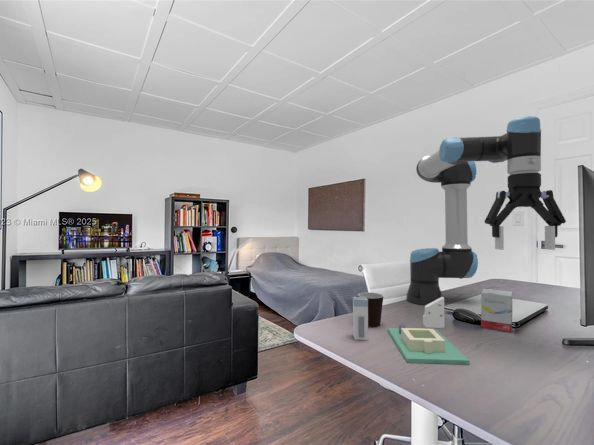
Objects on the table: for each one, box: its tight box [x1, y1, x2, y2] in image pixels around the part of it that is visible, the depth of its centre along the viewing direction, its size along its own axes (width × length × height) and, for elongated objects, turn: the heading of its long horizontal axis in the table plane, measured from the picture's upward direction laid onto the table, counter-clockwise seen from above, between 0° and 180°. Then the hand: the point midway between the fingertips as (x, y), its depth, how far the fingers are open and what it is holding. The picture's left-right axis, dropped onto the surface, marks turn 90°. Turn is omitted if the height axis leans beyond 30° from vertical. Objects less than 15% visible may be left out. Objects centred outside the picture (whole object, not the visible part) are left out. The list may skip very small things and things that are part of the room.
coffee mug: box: [356, 291, 384, 328], centre depth 105 cm, size 12×9×10 cm
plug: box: [352, 296, 369, 341], centre depth 91 cm, size 4×4×12 cm
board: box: [387, 323, 470, 365], centre depth 85 cm, size 22×15×4 cm
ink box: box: [480, 288, 513, 333], centre depth 100 cm, size 9×9×12 cm
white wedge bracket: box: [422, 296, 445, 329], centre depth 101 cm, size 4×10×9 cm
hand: (524, 249), depth 84 cm, fingers open, 13 cm apart
